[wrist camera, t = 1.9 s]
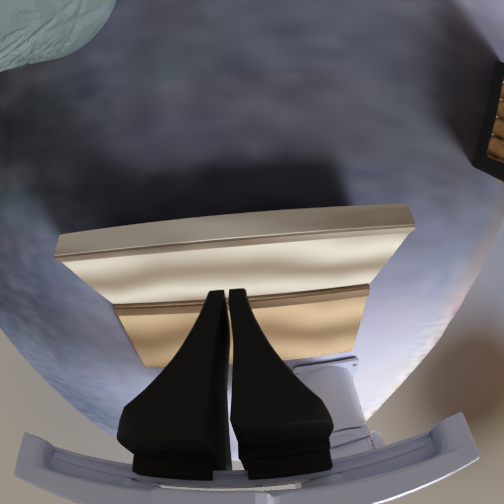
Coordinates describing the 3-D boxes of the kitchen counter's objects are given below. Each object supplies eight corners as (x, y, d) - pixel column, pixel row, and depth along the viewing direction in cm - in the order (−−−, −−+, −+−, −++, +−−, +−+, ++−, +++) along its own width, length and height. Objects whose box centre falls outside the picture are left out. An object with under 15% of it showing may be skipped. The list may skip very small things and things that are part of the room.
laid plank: (348, 340, 30) (352, 352, 28) (147, 355, 29) (145, 368, 28) (363, 275, 25) (370, 287, 23) (118, 295, 24) (113, 308, 23)
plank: (365, 267, 24) (370, 284, 23) (114, 287, 24) (113, 305, 23) (407, 203, 16) (416, 226, 15) (59, 234, 16) (53, 257, 15)
